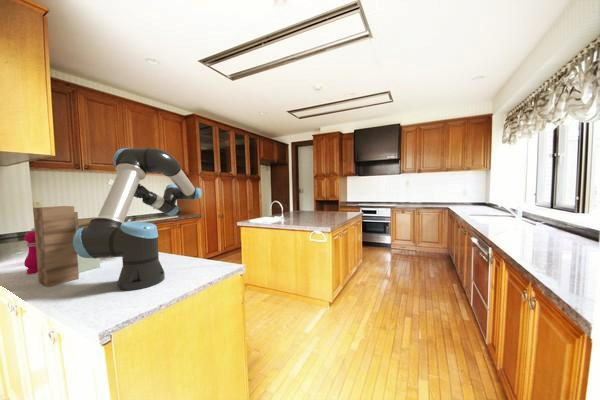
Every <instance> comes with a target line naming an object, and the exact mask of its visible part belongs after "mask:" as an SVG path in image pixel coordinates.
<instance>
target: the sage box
mask: <svg viewBox="0 0 600 400" xmlns="http://www.w3.org/2000/svg"><path fill="white" fill-rule="evenodd" d="M86 227H88V226H86ZM81 228H83V227H79V228H76V231H77V230H79V229H81ZM77 258H78V273H80V274H81V273H83V272H89V271H91V270H95V269H100V268H101V258H97V259H94V258H83V257H81V256H79V255H78V254H77Z"/></svg>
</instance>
